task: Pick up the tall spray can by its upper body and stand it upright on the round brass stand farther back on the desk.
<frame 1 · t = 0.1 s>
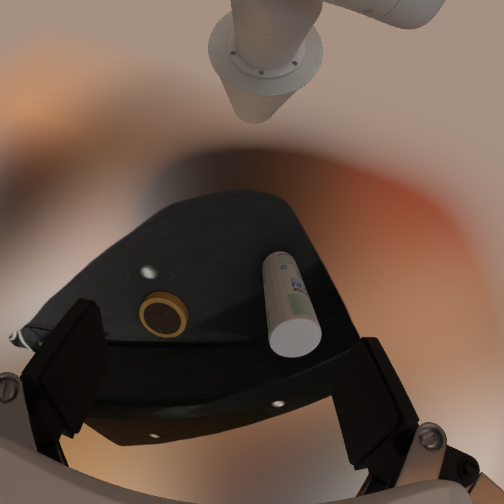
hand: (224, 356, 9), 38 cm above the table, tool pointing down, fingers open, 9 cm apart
stand: (165, 311, 54), on the table
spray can: (278, 266, 50), on the table
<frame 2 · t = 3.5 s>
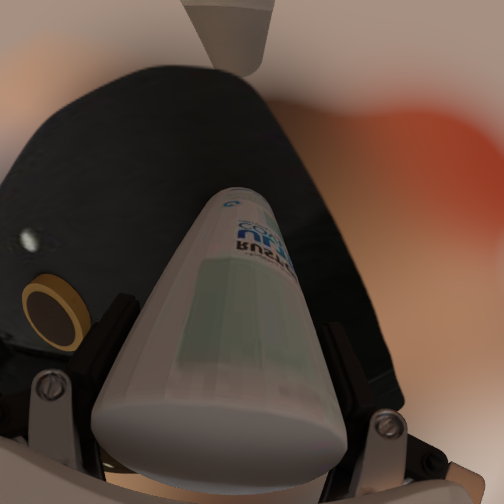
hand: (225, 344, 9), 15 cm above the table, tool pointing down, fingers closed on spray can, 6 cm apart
stand: (59, 308, 27), on the table
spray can: (237, 221, 24), on the table, touching gripper
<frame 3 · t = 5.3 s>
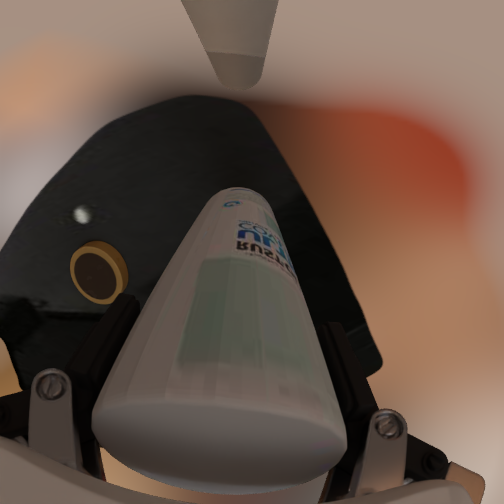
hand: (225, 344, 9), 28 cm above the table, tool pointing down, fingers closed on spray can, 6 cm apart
stand: (101, 269, 39), on the table
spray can: (237, 221, 24), point 12 cm above the table, touching gripper
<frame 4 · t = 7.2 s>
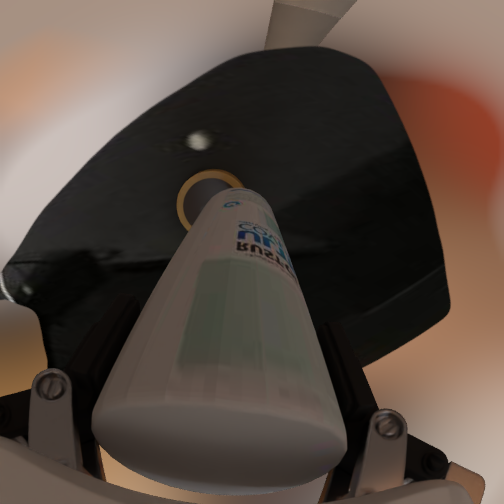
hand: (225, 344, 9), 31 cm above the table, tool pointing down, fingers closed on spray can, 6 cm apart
stand: (213, 202, 39), on the table
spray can: (237, 221, 24), point 16 cm above the table, touching gripper
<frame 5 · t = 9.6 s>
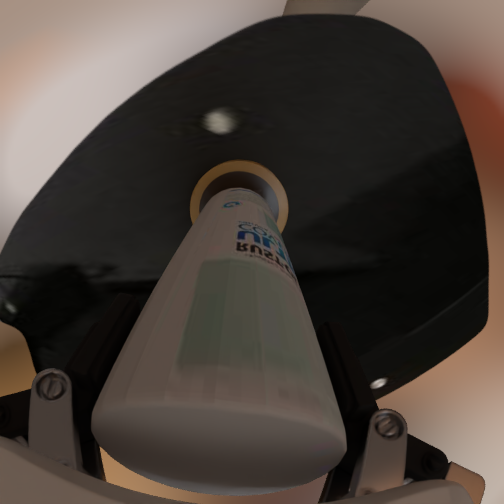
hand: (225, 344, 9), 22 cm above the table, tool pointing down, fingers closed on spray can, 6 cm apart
stand: (239, 204, 29), on the table
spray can: (237, 221, 24), point 6 cm above the table, touching gripper
when the fingers open (18 cm above the table, at t = 11.1 s): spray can stays where it is, resting on stand.
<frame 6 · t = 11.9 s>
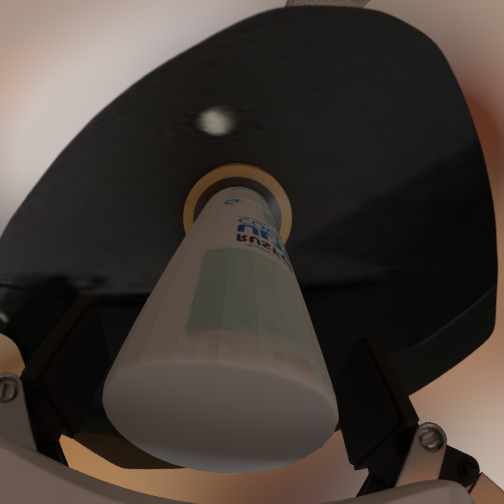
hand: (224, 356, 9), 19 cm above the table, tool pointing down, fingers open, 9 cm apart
stand: (237, 213, 27), on the table
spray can: (237, 219, 24), point 3 cm above the table, touching stand
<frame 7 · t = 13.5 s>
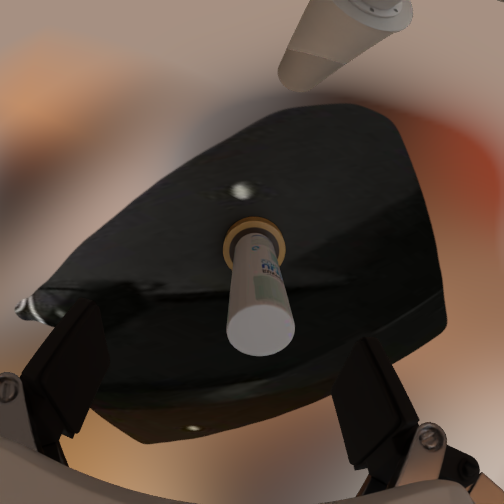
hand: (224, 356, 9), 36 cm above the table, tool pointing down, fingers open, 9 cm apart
stand: (253, 245, 46), on the table
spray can: (254, 250, 43), point 3 cm above the table, touching stand
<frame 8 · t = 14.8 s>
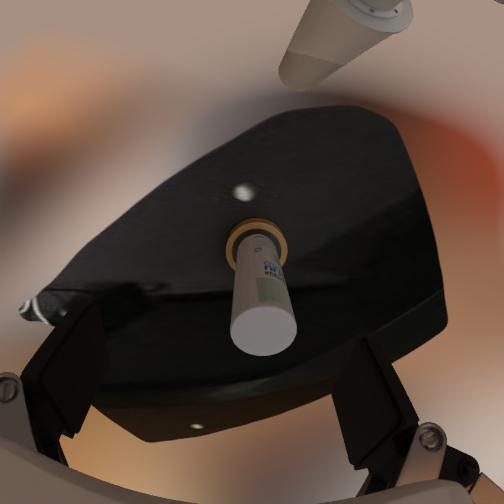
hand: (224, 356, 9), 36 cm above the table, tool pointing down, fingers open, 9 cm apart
stand: (256, 246, 46), on the table
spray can: (256, 251, 44), point 3 cm above the table, touching stand
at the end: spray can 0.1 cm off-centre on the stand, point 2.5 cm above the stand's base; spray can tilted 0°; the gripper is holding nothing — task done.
